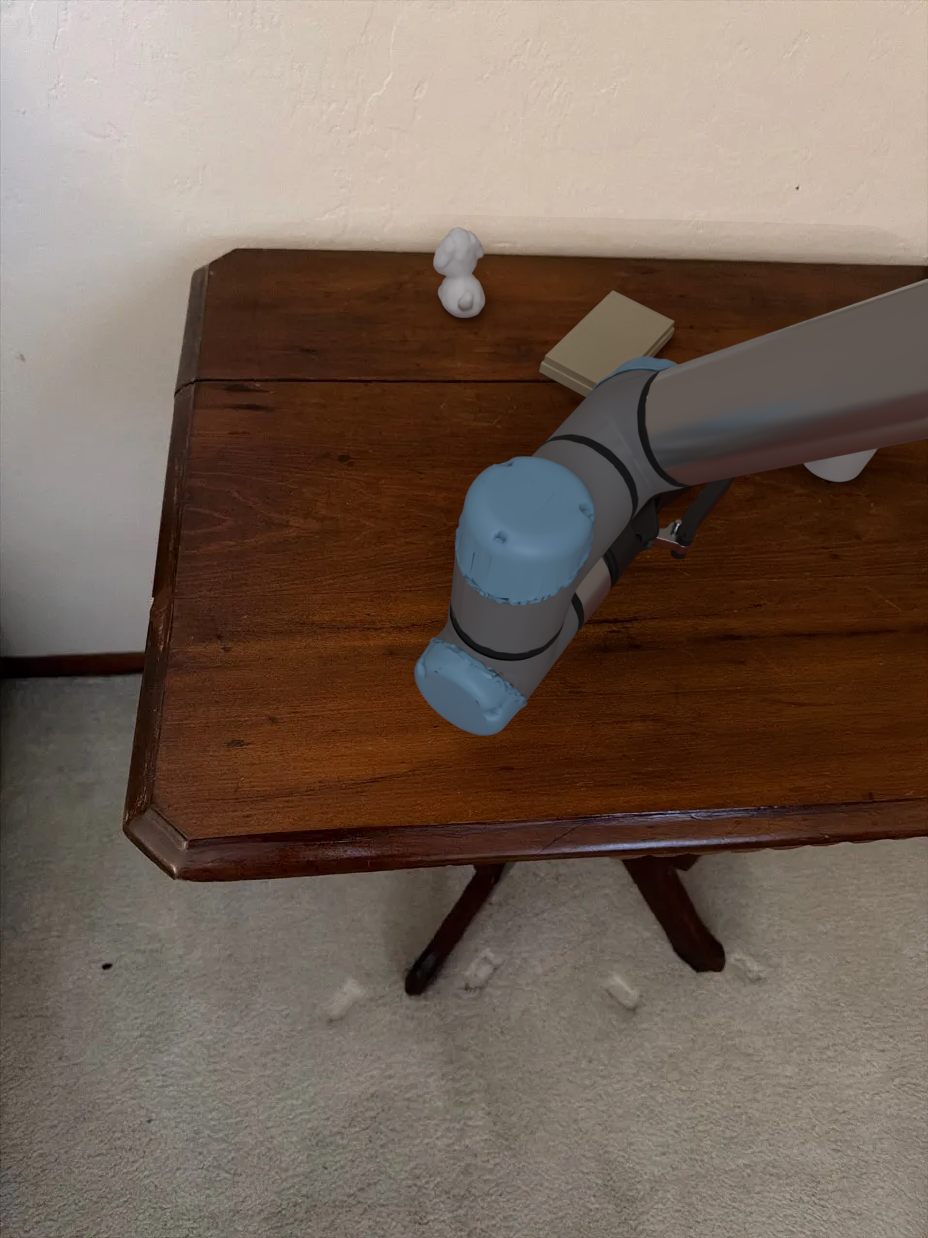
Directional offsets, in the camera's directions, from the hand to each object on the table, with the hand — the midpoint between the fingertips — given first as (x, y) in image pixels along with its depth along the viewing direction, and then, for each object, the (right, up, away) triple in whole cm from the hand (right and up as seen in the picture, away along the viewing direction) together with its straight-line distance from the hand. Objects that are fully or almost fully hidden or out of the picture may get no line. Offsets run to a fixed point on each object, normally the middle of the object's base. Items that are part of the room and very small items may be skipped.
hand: (706, 393), depth 77 cm
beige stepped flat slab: (-6, +8, +14) cm, 18 cm away
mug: (+13, -5, +8) cm, 16 cm away
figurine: (-22, +13, +17) cm, 30 cm away
